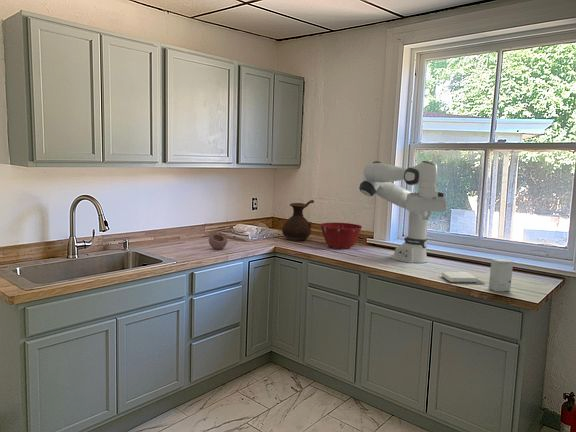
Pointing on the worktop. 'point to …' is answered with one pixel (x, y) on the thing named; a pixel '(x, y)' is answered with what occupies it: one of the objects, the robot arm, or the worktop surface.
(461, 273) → the tile
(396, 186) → the robot arm
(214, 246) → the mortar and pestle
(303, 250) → the worktop surface
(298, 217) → the jug
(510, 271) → the skincare box
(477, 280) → the mat
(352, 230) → the mixing bowl
